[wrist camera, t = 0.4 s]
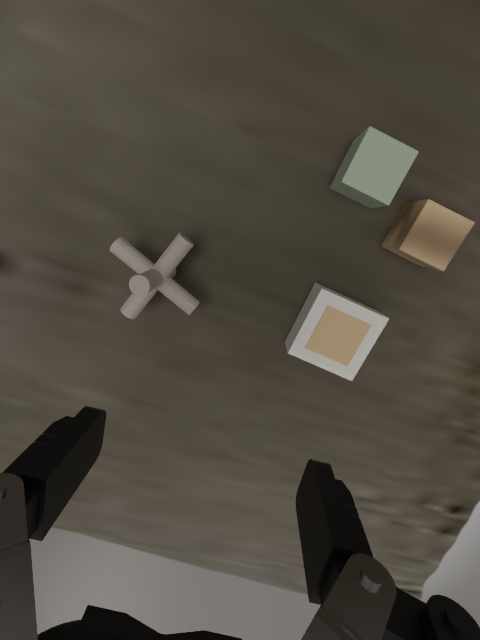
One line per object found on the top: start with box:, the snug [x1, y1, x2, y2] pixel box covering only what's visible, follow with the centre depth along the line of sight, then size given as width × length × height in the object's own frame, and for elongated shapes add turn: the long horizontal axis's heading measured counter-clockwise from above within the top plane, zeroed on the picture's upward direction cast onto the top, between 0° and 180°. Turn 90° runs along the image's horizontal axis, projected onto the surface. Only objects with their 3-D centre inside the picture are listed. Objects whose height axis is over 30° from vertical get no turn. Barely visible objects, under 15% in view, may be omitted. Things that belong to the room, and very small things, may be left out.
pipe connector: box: [110, 233, 200, 319], centre depth 33 cm, size 10×10×10 cm
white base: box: [285, 282, 389, 381], centre depth 37 cm, size 8×8×4 cm
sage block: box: [330, 126, 419, 209], centre depth 32 cm, size 5×5×5 cm
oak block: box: [380, 199, 475, 271], centre depth 33 cm, size 5×5×5 cm
